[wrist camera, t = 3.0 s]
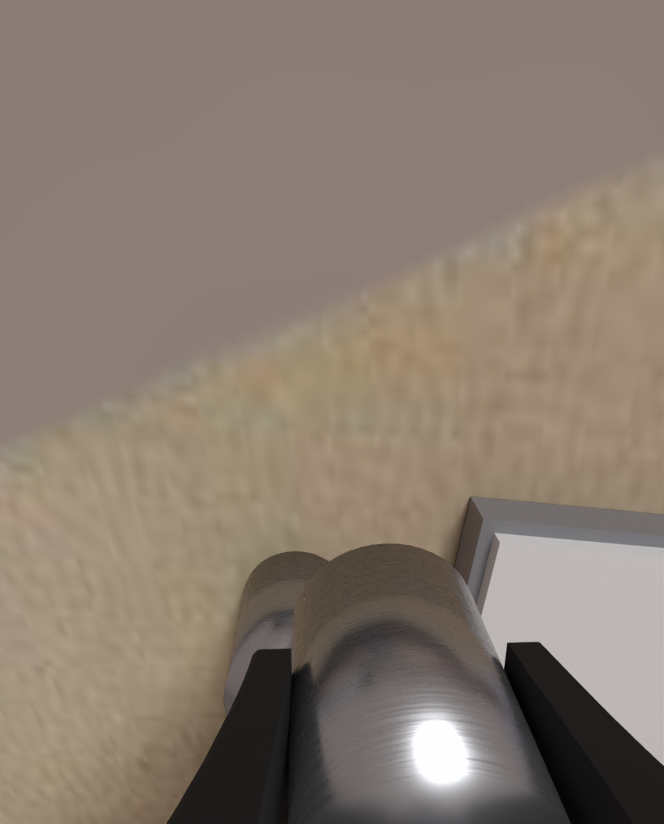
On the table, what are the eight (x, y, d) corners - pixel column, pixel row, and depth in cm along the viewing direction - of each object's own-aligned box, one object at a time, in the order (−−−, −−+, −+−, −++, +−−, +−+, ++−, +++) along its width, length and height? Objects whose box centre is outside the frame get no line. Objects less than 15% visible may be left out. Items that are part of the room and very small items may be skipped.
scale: (774, 525, 21) (852, 576, 18) (664, 773, 25) (711, 848, 22) (470, 496, 20) (498, 545, 17) (411, 758, 24) (424, 834, 21)
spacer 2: (481, 540, 11) (603, 767, 7) (466, 688, 13) (559, 963, 8) (289, 546, 11) (276, 782, 7) (295, 694, 13) (287, 980, 8)
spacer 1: (353, 556, 21) (363, 655, 16) (339, 639, 22) (345, 753, 17) (248, 546, 21) (227, 643, 16) (241, 631, 22) (219, 744, 17)
